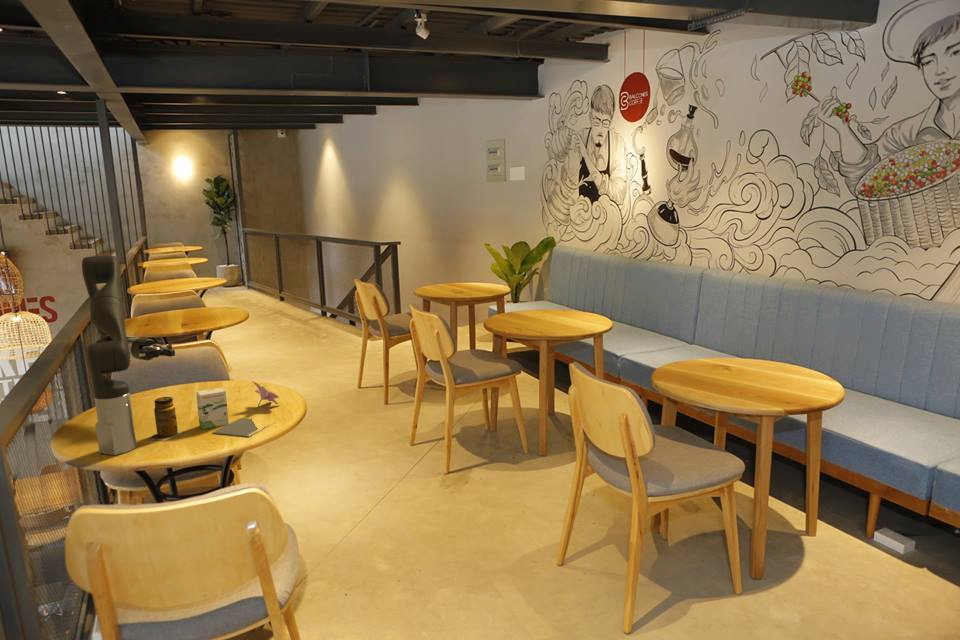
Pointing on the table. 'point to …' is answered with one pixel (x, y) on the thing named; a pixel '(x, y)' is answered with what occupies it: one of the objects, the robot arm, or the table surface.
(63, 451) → the table surface
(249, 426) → the mat
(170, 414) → the condiment
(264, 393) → the lily
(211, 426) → the ink box
